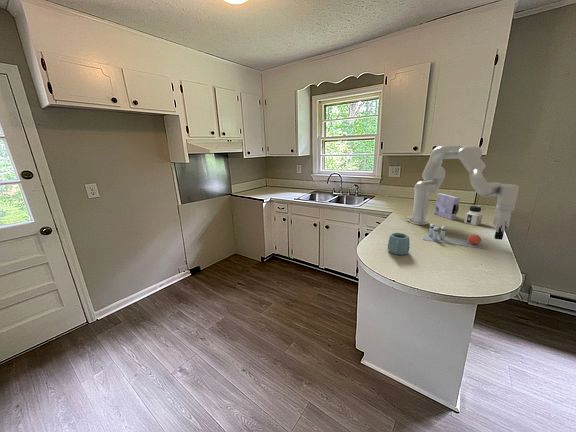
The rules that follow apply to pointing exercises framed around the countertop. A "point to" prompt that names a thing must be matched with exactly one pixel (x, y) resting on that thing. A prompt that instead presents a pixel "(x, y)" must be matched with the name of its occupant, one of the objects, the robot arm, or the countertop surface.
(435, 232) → the pin
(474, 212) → the container
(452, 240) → the lane
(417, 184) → the robot arm
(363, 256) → the countertop surface
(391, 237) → the mug
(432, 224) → the pin
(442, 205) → the cake pan box
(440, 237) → the front pin
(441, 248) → the countertop surface
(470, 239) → the ball
